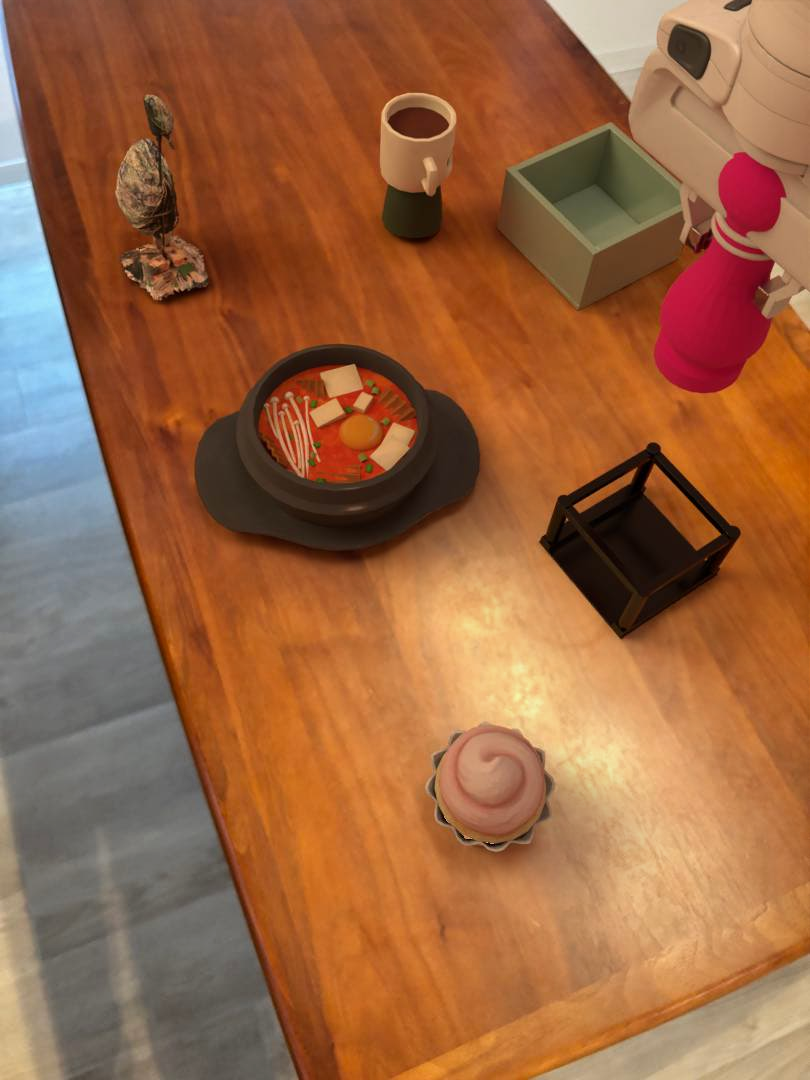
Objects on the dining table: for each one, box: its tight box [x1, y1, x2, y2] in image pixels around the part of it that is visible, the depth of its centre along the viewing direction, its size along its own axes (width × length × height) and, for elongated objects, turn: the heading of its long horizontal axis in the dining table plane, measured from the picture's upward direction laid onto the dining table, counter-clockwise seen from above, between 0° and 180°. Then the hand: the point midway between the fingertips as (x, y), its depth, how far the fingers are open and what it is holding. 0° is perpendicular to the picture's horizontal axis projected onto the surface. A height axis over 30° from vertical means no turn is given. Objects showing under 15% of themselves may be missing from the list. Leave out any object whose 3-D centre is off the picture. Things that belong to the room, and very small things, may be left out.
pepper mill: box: [653, 152, 787, 394], centre depth 63 cm, size 7×7×20 cm
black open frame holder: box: [538, 441, 742, 640], centre depth 84 cm, size 11×11×8 cm
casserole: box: [194, 343, 481, 552], centre depth 86 cm, size 25×19×8 cm
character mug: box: [379, 92, 457, 239], centre depth 100 cm, size 11×7×13 cm, turn 16°
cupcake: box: [424, 720, 556, 853], centre depth 71 cm, size 9×9×10 cm
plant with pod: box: [114, 94, 211, 301], centre depth 92 cm, size 8×11×20 cm
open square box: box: [496, 121, 685, 311], centre depth 102 cm, size 14×14×8 cm
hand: (729, 275), depth 64 cm, fingers closed on pepper mill, 5 cm apart
